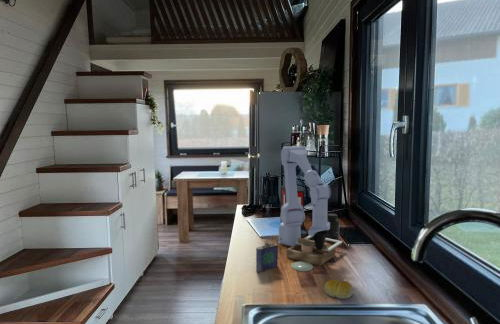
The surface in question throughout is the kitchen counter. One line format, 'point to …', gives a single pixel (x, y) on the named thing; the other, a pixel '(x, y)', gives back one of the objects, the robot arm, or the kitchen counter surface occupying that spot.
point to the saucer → (302, 266)
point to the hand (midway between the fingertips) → (319, 248)
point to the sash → (305, 240)
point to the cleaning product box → (283, 201)
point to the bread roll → (339, 289)
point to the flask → (266, 257)
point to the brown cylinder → (307, 248)
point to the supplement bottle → (333, 227)
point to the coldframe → (310, 255)
